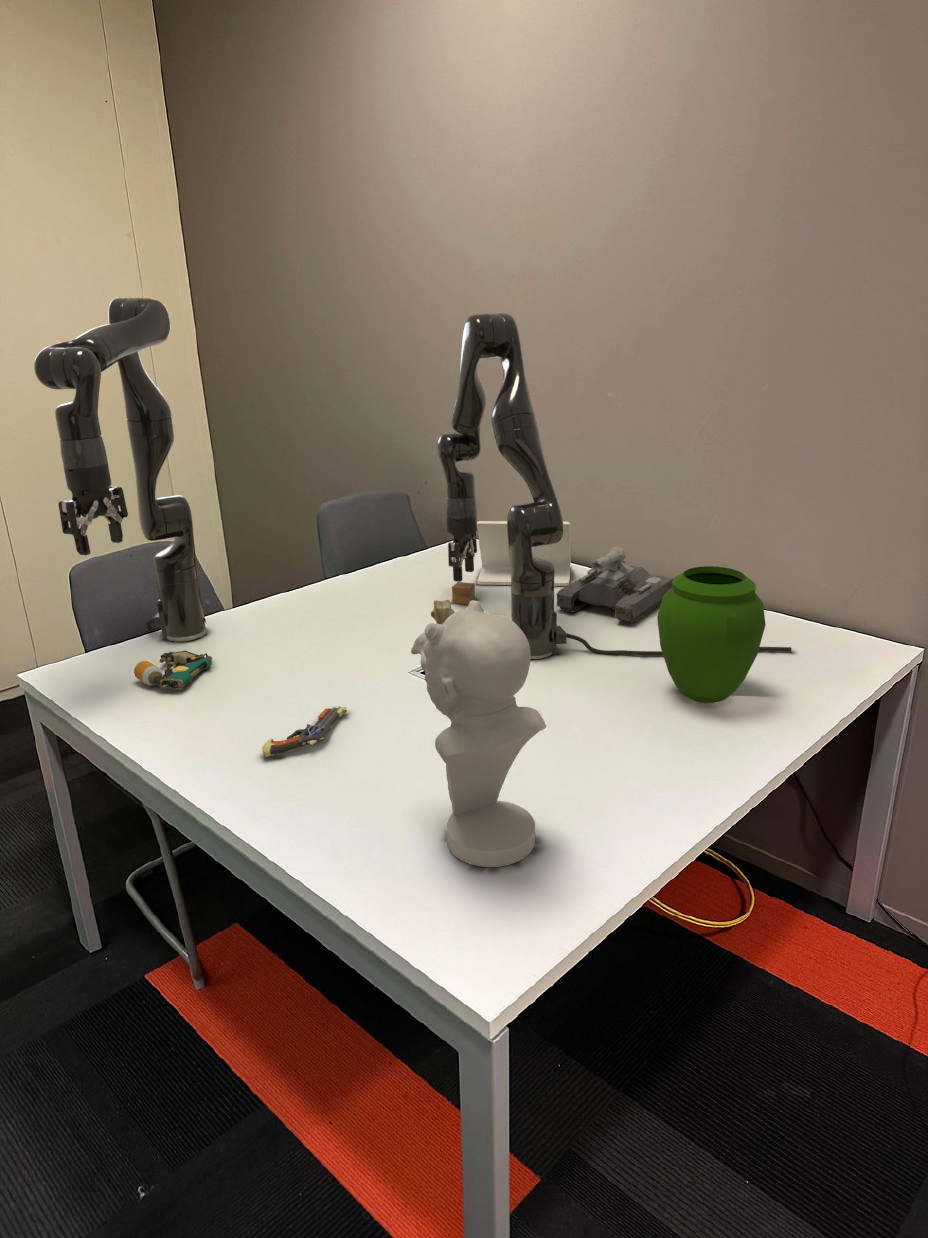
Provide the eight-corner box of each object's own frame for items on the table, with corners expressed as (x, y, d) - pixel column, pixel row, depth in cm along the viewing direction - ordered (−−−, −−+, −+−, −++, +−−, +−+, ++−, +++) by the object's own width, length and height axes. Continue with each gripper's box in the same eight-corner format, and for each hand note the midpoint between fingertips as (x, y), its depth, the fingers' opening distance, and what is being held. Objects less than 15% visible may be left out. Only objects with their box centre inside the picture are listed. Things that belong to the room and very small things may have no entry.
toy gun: (257, 746, 146) (311, 744, 144) (298, 704, 164) (347, 701, 161) (260, 761, 146) (314, 759, 144) (300, 717, 164) (349, 715, 162)
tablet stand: (569, 585, 229) (570, 524, 223) (476, 584, 232) (475, 523, 226) (570, 566, 246) (571, 508, 240) (484, 564, 249) (483, 507, 243)
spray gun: (177, 659, 191) (231, 671, 185) (120, 684, 176) (176, 698, 171) (176, 641, 190) (230, 653, 184) (118, 665, 175) (174, 678, 169)
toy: (603, 584, 229) (605, 530, 224) (673, 597, 218) (677, 540, 213) (555, 612, 210) (556, 553, 205) (630, 627, 199) (633, 566, 194)
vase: (769, 686, 168) (782, 568, 159) (741, 727, 152) (753, 599, 144) (673, 667, 178) (680, 554, 169) (637, 703, 162) (643, 582, 154)
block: (458, 597, 223) (457, 581, 221) (475, 599, 221) (474, 583, 220) (452, 603, 219) (451, 586, 218) (469, 604, 218) (469, 588, 216)
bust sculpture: (481, 772, 140) (476, 569, 128) (565, 848, 120) (569, 617, 108) (392, 800, 134) (378, 588, 121) (465, 886, 114) (457, 642, 101)
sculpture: (458, 662, 183) (456, 596, 178) (460, 676, 176) (457, 608, 171) (431, 663, 183) (428, 597, 177) (431, 677, 176) (428, 609, 171)
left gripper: (97, 454, 163) (112, 537, 168) (38, 468, 150) (57, 557, 156) (129, 456, 160) (142, 539, 166) (72, 470, 148) (89, 560, 153)
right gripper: (457, 507, 220) (459, 567, 225) (436, 519, 207) (439, 583, 213) (485, 508, 217) (486, 569, 223) (465, 520, 205) (468, 585, 210)
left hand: (101, 548), depth 161 cm, fingers open, 8 cm apart
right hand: (463, 576), depth 218 cm, fingers open, 8 cm apart
